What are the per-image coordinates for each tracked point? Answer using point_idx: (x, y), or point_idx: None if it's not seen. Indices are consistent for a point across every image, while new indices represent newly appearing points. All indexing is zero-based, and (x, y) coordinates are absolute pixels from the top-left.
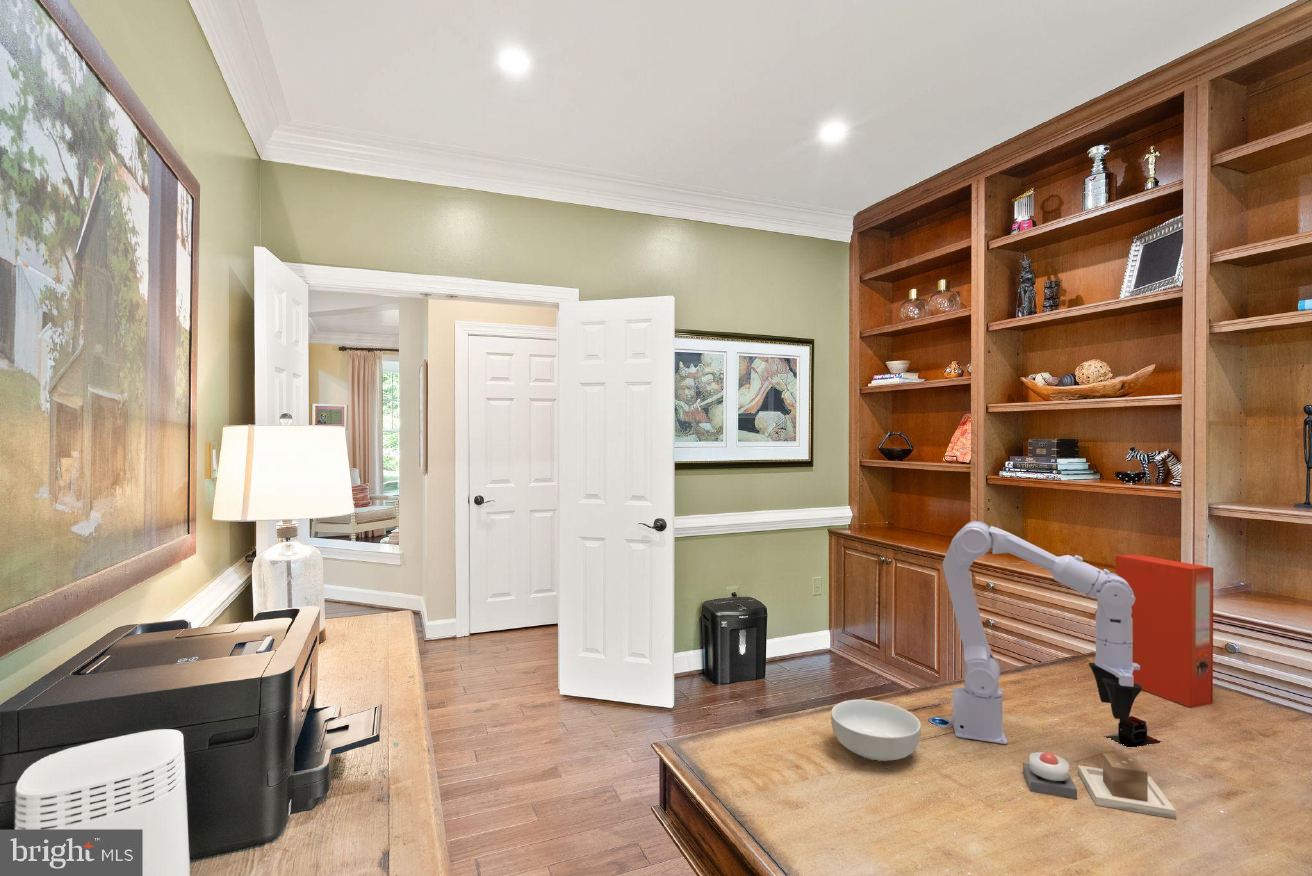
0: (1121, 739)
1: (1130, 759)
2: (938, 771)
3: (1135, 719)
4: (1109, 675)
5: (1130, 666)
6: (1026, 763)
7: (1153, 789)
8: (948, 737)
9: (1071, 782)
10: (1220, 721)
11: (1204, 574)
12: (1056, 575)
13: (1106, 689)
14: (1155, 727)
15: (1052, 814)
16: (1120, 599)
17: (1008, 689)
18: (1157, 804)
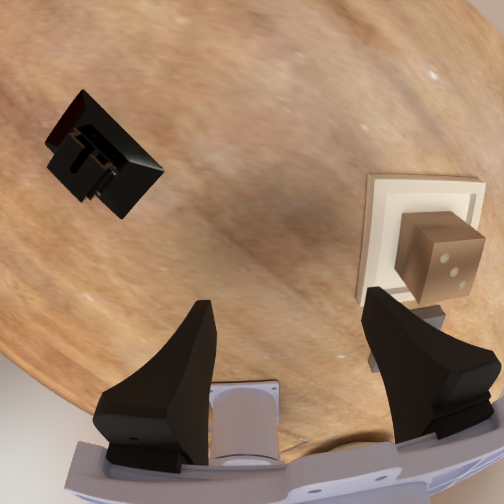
0: (123, 183)
1: (443, 258)
2: (382, 417)
3: (66, 160)
4: (194, 414)
5: (417, 486)
6: (374, 369)
7: (428, 192)
8: (281, 424)
9: (427, 320)
10: None
11: None
12: None
13: (207, 362)
14: (13, 103)
15: (468, 329)
16: None
17: (21, 341)
18: (473, 206)
